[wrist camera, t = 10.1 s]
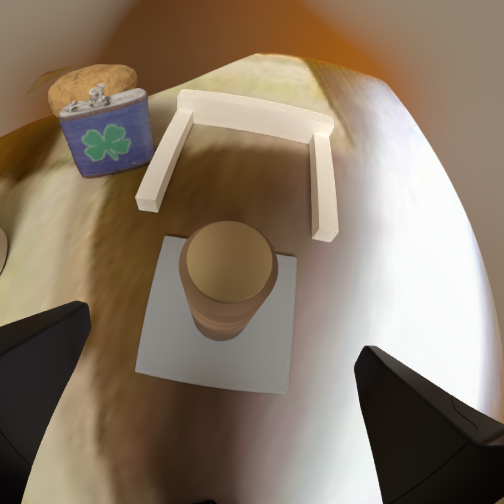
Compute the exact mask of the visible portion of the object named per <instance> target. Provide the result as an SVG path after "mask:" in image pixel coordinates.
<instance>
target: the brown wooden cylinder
mask: <svg viewBox="0 0 504 504" xmlns="http://www.w3.org/2000/svg"><path fill="white" fill-rule="evenodd" d="M179 274H180V278H181V282H182V285H183V288H184V292H185V295H186V298H187V301H188V305H189V308H190V311H191V314H192V317H193V320H194V323H195V325H196V327H197V329H198V330H199V331H200V333H201V334H203V335H204V336H205V337H207V338H209V339H211V340H215V341H227V340H230V339H233V338H235V337H236V336H238V335H239V334H240V333H241V332H242V331H243V330H244V328H245V327H246V326H247V324H248V323H249V322H250V320H251V319H252V318H253V316H254V315H255V313H256V312H257V311H258V309H259V308H260V307H261V305H262V304H263V303H264V301H265V300H266V298H267V297H268V296H269V294H270V293H271V291H272V290H273V288H274V286H275V283H276V281H277V277H278V260H277V256H276V253H275V250H274V248H273V246H272V245H271V243H270V242H269V240H268V239H267V238H266V237H265V236H264V235H263V234H262V233H261V232H260V231H258V230H257V229H255V228H254V227H252V226H250V225H247V224H245V223H242V222H237V221H229V220H226V221H217V222H213V223H209V224H207V225H204V226H203V227H201V228H199V229H198V230H196V231H195V232H194V233H193V234H192V235H191V236H190V237H189V238H188V239H187V241H186V242H185V244H184V246H183V248H182V250H181V253H180V257H179Z"/></svg>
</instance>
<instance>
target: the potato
mask: <svg viewBox="0 0 504 504" xmlns="http://www.w3.org/2000/svg"><path fill="white" fill-rule="evenodd" d="M99 83H100V84H103V83H104V84H105V87H104V88H103V89H104V91H103V92H104V95H105V96H109V95H113V94H116V93H121V92H124V91H128V90H131V89H135V88H136V85H137V75H136V73H135V71H134V70H133V69H131V68H130V67H128V66H125V65H103V64H97V65H92V66H89V67H85V68H83V69H80V70H76V71H72V72H69V73H67V74H66V75H64V76H62V77H60V78H59V79H58V80H57V81H56V82H55V83H54V84H53V85H52V86H51V88H50V90H49V91H48V101H49V104H50V106H51V109H52V111H53V113H54V115H56V116H57V117H58V116H59V112H60V111H61V110H62V109H63V108H64V107H66V106H67V105H69V104H71V103H72V101H74V100H75V101H76V102H78V101H87V99H88V98H89V97H90V96H91V95H89V91H90V89H92V88H93V87H99V86H97V84H99Z"/></svg>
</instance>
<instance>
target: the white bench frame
mask: <svg viewBox="0 0 504 504" xmlns="http://www.w3.org/2000/svg"><path fill="white" fill-rule="evenodd" d="M192 124H202V125H210V126H217V127H224V128H231V129H237V130H243V131H249V132H254V133H259V134H265V135H270V136H274V137H279V138H284V139H288V140H293V141H297V142H301V143H305V144H309V151H310V173H311V208H312V239H315V240H320V241H326V242H331V241H332V240H333V239H334V238H335V236H336V235H337V234H338V233H339V229H338V214H337V202H336V191H335V181H334V172H333V164H332V156H331V148H330V141H329V136H330V134H331V132H332V130H333V128H334V121H333V117H331V116H328V115H325V114H321V113H318V112H314V111H310V110H306V109H303V108H299V107H295V106H290V105H286V104H282V103H277V102H272V101H267V100H262V99H257V98H251V97H245V96H239V95H233V94H226V93H218V92H210V91H200V90H189V89H182V90H181V92H180V93H179V95H178V96H177V112H176V113H175V115H174V117H173V119H172V121H171V123H170V124H169V126H168V128H167V130H166V132H165V134H164V136H163V138H162V140H161V142H160V144H159V146H158V148H157V150H156V152H155V154H154V156H153V158H152V160H151V163H150V165H149V167H148V169H147V171H146V174H145V176H144V178H143V180H142V183H141V185H140V187H139V190H138V192H137V195H136V197H135V199H136V202H137V205H138V208H139V210H143V211H150V212H157V213H158V211H159V209H160V206H161V203H162V200H163V197H164V194H165V191H166V189H167V186H168V183H169V180H170V178H171V175H172V173H173V170H174V167H175V165H176V162H177V160H178V157H179V155H180V152H181V150H182V148H183V145H184V143H185V140H186V138H187V136H188V133H189V131H190V129H191V127H192Z"/></svg>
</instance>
